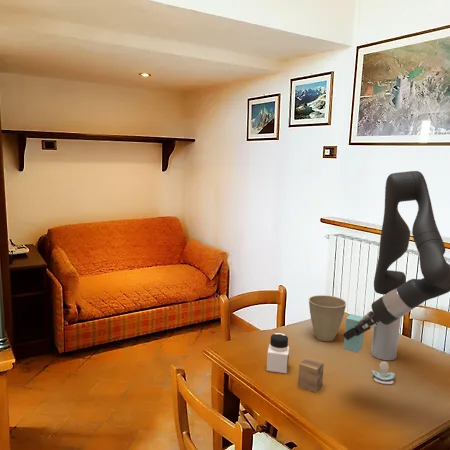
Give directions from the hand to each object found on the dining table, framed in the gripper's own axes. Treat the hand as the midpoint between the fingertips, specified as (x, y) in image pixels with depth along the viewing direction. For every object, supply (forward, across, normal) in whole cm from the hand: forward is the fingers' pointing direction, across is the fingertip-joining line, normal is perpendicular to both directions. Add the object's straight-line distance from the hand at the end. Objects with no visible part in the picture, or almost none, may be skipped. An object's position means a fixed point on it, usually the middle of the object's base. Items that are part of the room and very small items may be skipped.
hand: (348, 334), depth 133 cm
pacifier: (+8, -16, +20) cm, 27 cm away
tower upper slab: (+19, +2, +4) cm, 19 cm away
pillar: (+2, 0, +4) cm, 5 cm away
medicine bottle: (+31, -2, -3) cm, 31 cm away
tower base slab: (+21, +2, +7) cm, 23 cm away
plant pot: (+29, -37, 0) cm, 47 cm away
